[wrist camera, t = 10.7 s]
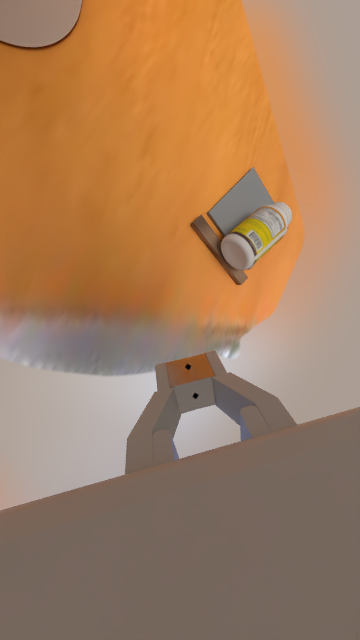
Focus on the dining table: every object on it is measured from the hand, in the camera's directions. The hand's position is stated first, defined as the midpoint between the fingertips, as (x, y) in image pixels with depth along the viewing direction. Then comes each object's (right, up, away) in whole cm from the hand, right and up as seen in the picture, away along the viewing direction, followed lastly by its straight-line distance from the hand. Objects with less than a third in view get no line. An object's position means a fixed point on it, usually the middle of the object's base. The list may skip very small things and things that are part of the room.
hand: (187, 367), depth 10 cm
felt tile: (+11, +18, +22) cm, 30 cm away
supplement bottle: (+7, +11, +18) cm, 22 cm away
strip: (+6, +13, +21) cm, 26 cm away
